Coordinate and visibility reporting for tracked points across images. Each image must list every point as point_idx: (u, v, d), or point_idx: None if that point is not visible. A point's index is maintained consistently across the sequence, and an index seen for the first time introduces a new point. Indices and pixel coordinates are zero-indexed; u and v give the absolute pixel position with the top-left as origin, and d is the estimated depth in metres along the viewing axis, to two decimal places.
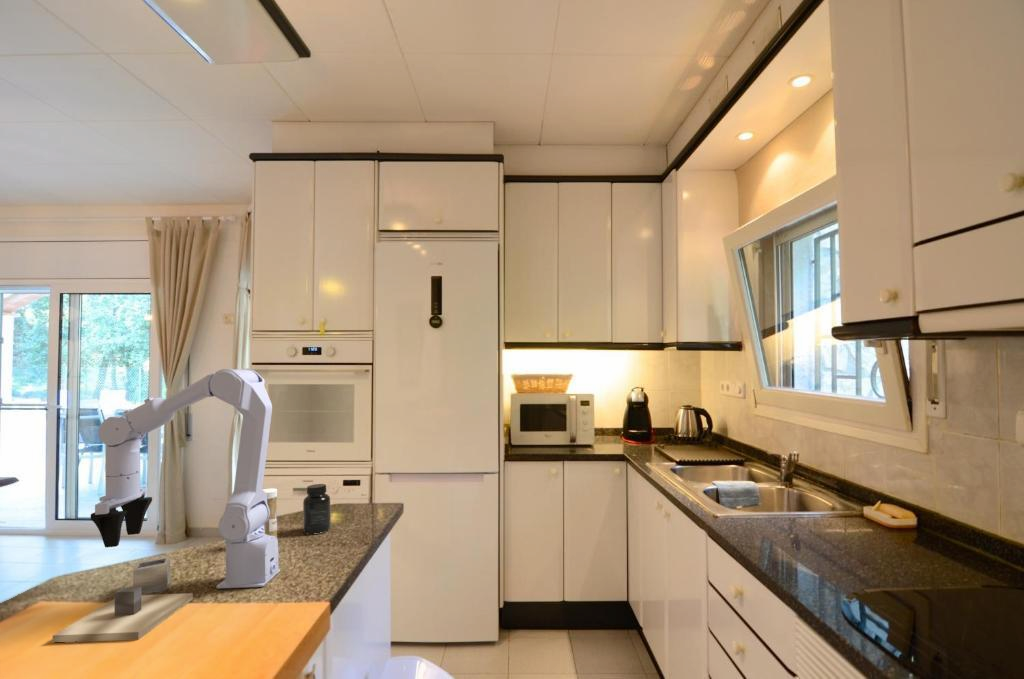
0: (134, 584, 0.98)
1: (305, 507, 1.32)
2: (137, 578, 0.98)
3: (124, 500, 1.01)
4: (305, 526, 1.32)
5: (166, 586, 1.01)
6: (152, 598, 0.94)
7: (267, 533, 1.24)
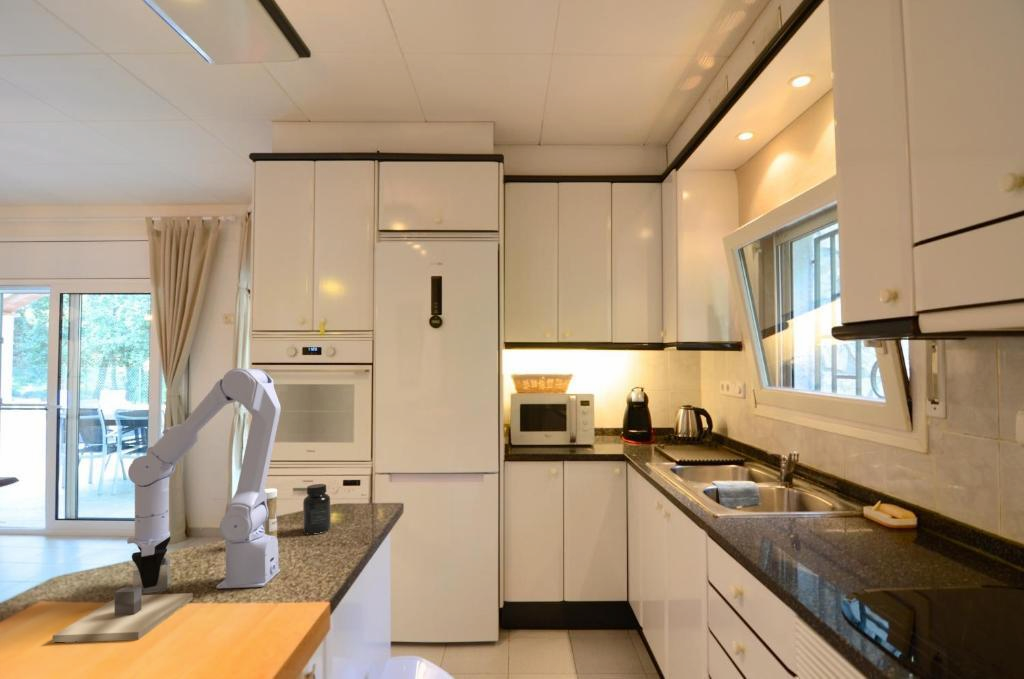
0: (134, 584, 0.98)
1: (305, 507, 1.32)
2: (137, 578, 0.98)
3: (162, 539, 1.00)
4: (305, 526, 1.32)
5: (166, 586, 1.01)
6: (152, 598, 0.94)
7: (267, 533, 1.24)
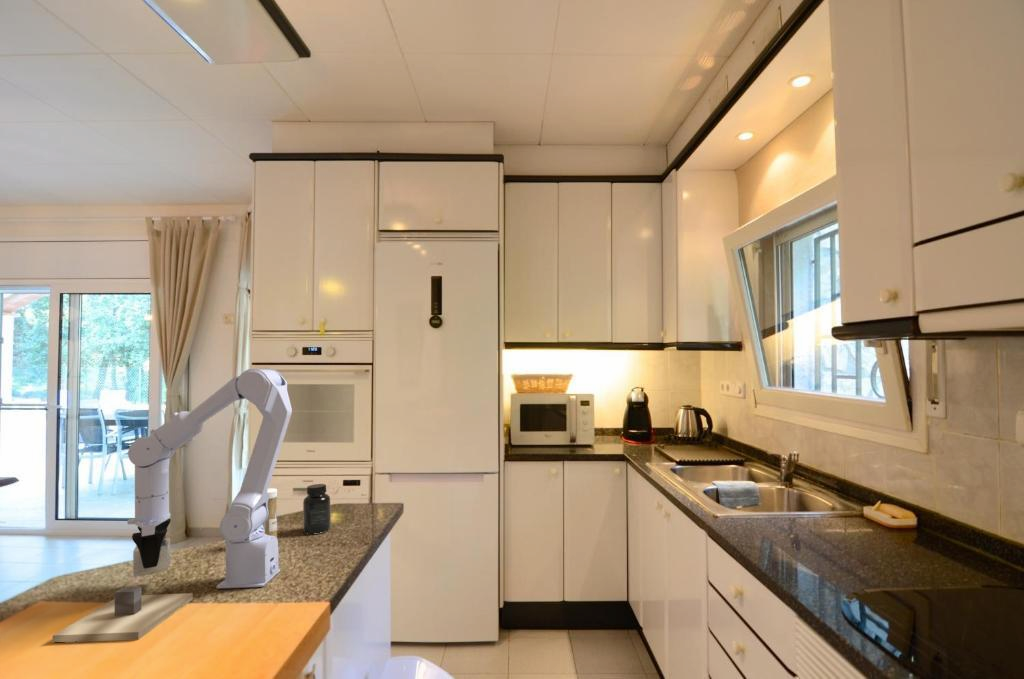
0: (134, 565, 0.98)
1: (305, 507, 1.32)
2: (137, 558, 0.99)
3: (162, 520, 1.01)
4: (305, 526, 1.32)
5: (166, 567, 1.01)
6: (152, 598, 0.94)
7: (267, 533, 1.24)
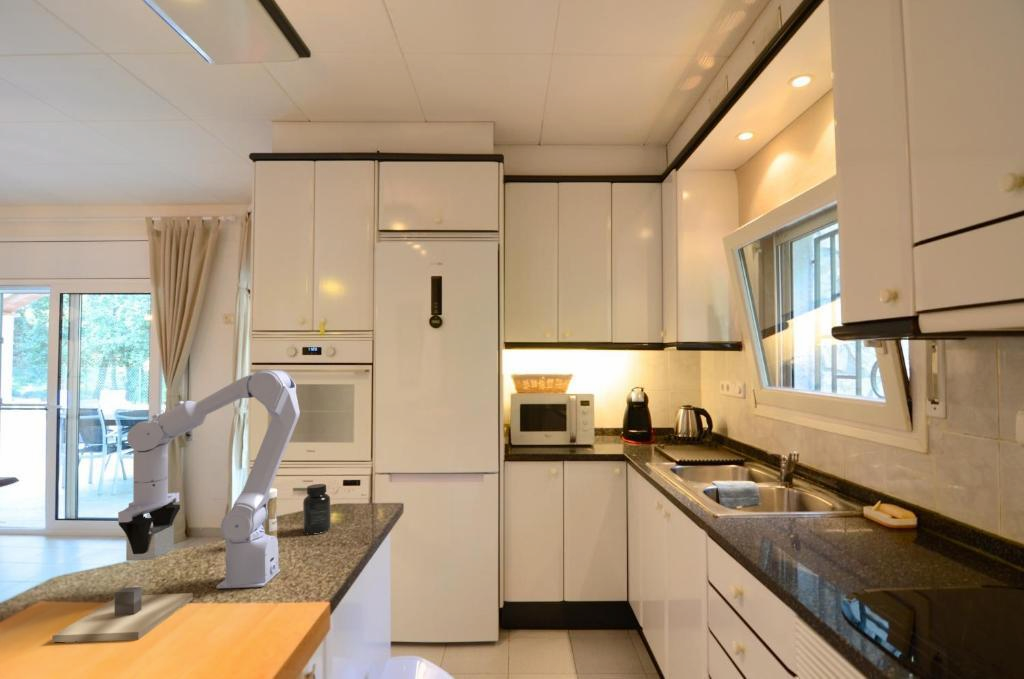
0: (127, 548, 0.98)
1: (305, 507, 1.32)
2: (129, 542, 0.99)
3: (149, 508, 0.98)
4: (305, 526, 1.32)
5: (153, 556, 0.98)
6: (152, 598, 0.94)
7: (267, 533, 1.24)
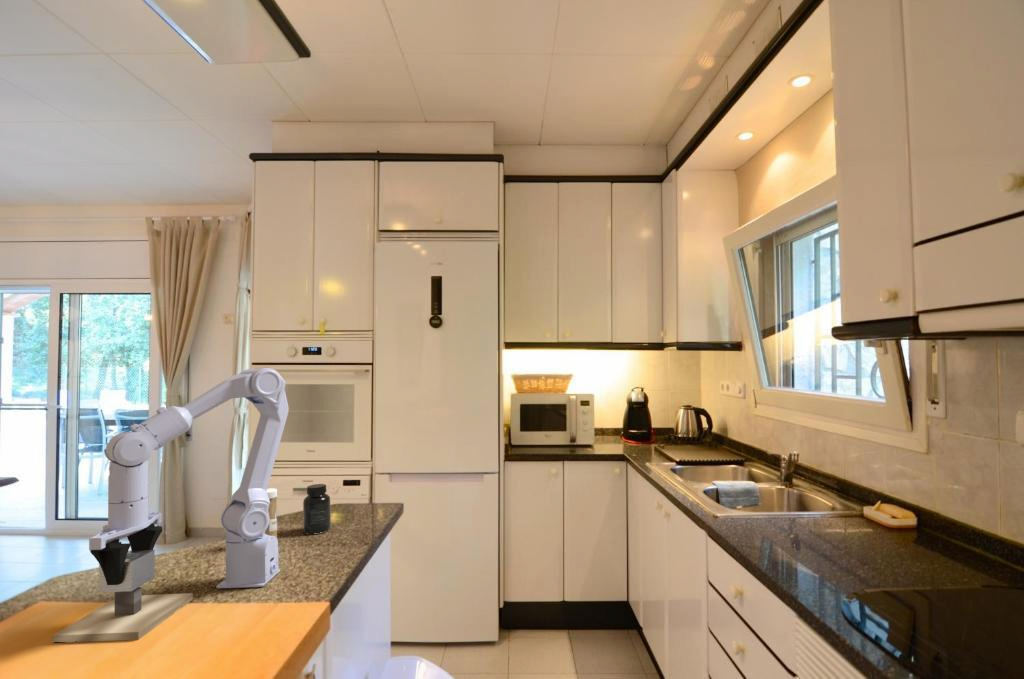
0: (100, 578, 0.86)
1: (305, 507, 1.32)
2: None
3: (125, 532, 0.86)
4: (305, 526, 1.32)
5: (130, 587, 0.86)
6: (152, 598, 0.94)
7: (267, 533, 1.24)
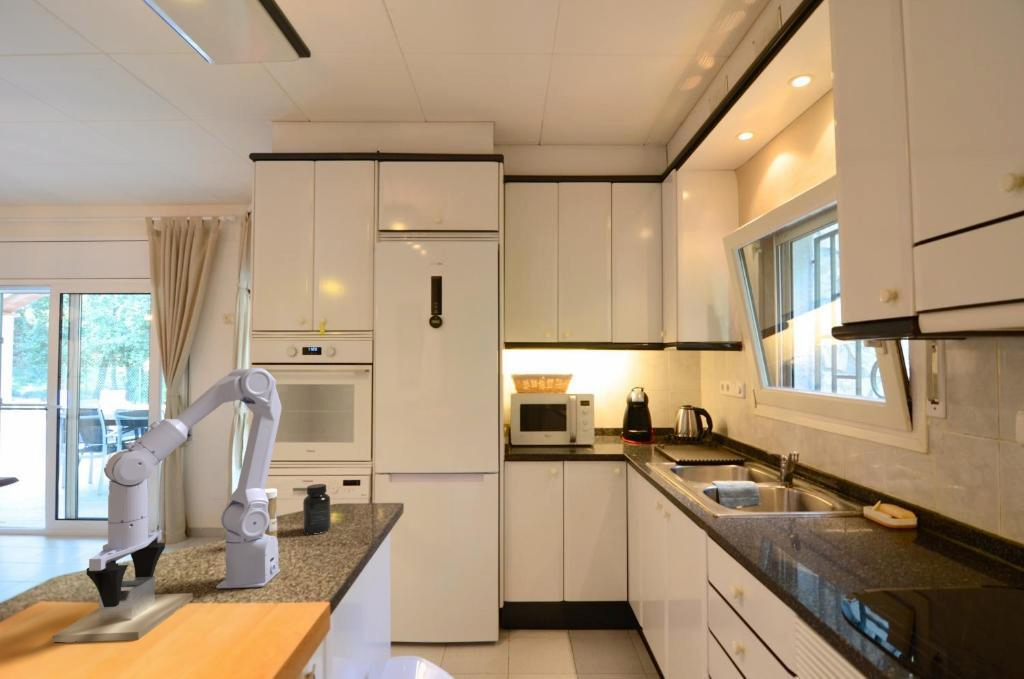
0: (100, 607, 0.86)
1: (305, 507, 1.32)
2: None
3: (125, 552, 0.86)
4: (305, 526, 1.32)
5: (131, 615, 0.86)
6: None
7: (267, 533, 1.24)
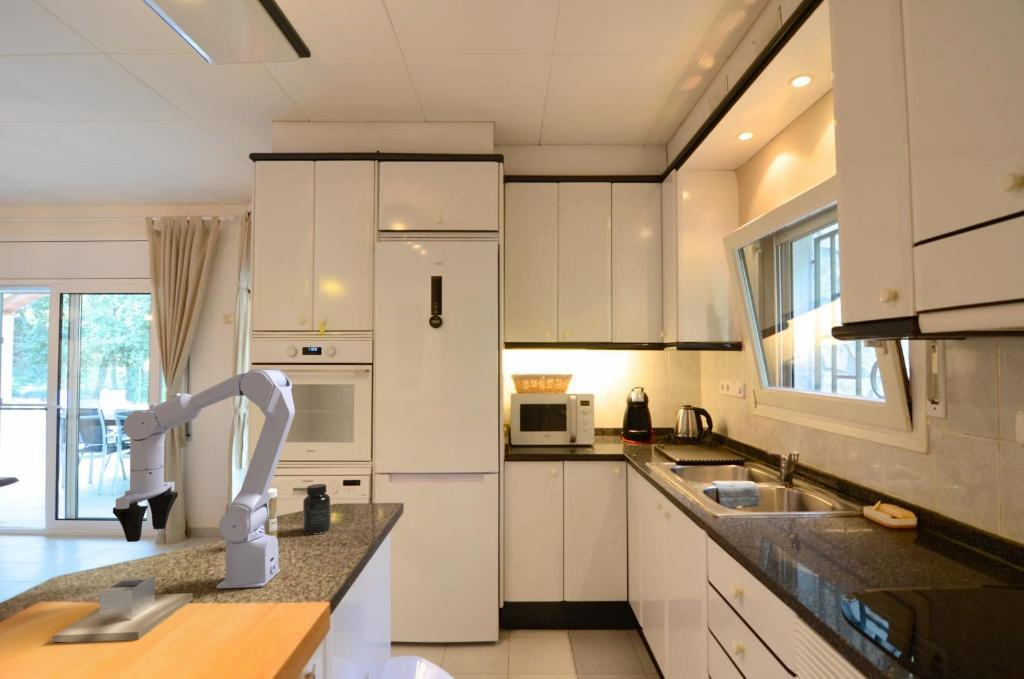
0: (100, 607, 0.86)
1: (305, 507, 1.32)
2: (103, 600, 0.86)
3: (145, 495, 1.00)
4: (305, 526, 1.32)
5: (131, 615, 0.86)
6: None
7: (267, 533, 1.24)
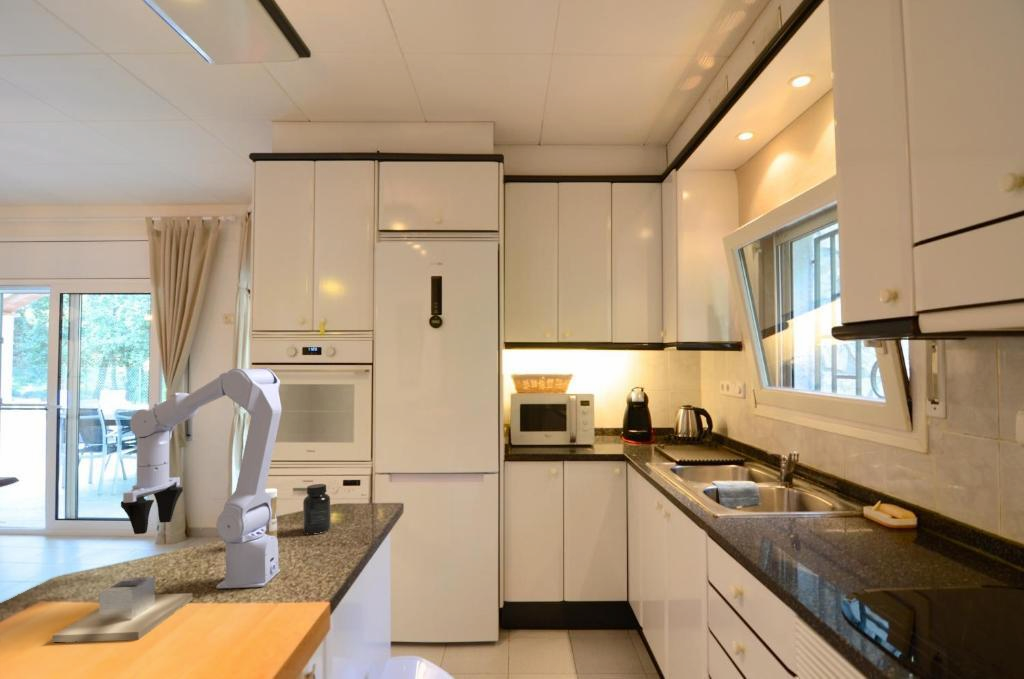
0: (100, 607, 0.86)
1: (305, 507, 1.32)
2: (103, 600, 0.86)
3: (151, 489, 1.05)
4: (305, 526, 1.32)
5: (131, 615, 0.86)
6: None
7: (267, 533, 1.24)
